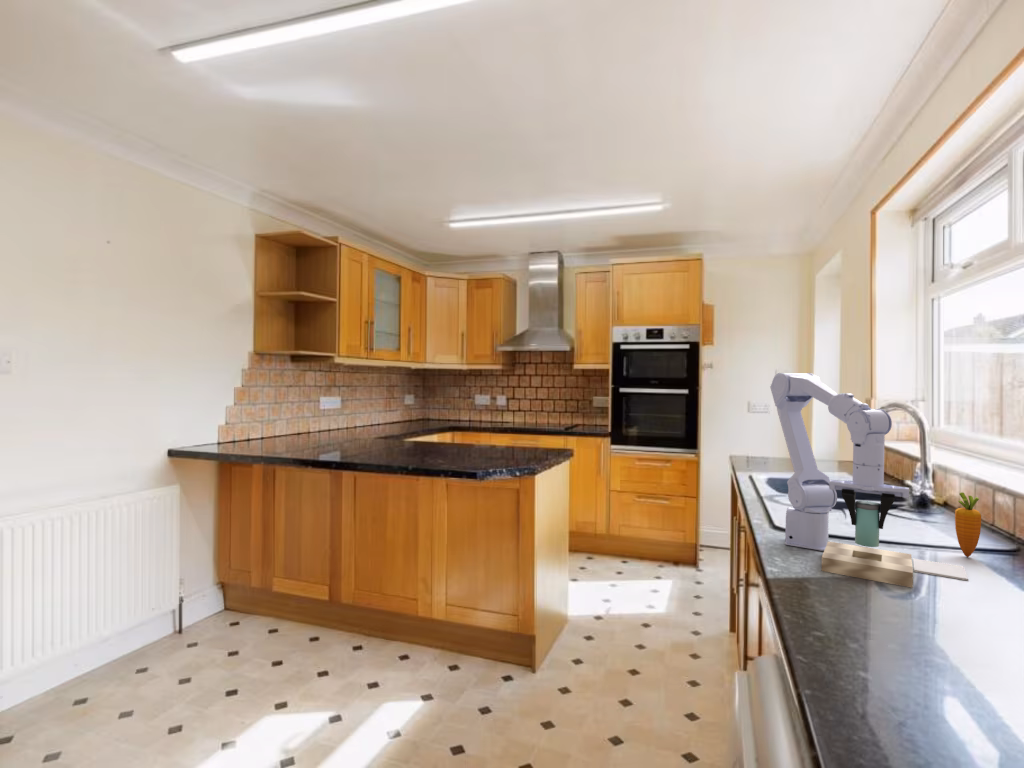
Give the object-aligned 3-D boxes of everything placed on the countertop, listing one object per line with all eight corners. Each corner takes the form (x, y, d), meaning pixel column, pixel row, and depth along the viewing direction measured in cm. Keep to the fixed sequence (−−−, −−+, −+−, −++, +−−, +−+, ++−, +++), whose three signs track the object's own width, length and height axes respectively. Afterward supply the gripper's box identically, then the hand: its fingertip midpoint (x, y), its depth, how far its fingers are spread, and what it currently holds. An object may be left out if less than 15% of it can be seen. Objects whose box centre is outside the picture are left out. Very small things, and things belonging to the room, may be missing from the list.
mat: (914, 571, 118) (914, 569, 118) (913, 560, 125) (913, 558, 125) (968, 580, 113) (968, 578, 113) (963, 568, 120) (963, 566, 120)
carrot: (986, 561, 125) (987, 496, 125) (961, 559, 126) (962, 495, 126) (972, 554, 130) (973, 491, 129) (948, 552, 131) (950, 490, 130)
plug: (854, 544, 119) (854, 503, 118) (855, 539, 122) (856, 499, 122) (879, 548, 116) (879, 506, 116) (879, 543, 120) (880, 502, 119)
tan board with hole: (821, 570, 118) (821, 557, 118) (827, 553, 129) (828, 541, 129) (912, 587, 109) (912, 572, 109) (911, 567, 120) (911, 554, 120)
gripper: (828, 463, 120) (827, 524, 120) (909, 470, 111) (908, 536, 112) (831, 459, 125) (830, 517, 126) (908, 465, 117) (907, 528, 117)
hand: (867, 525), depth 119 cm, fingers closed on plug, 4 cm apart
